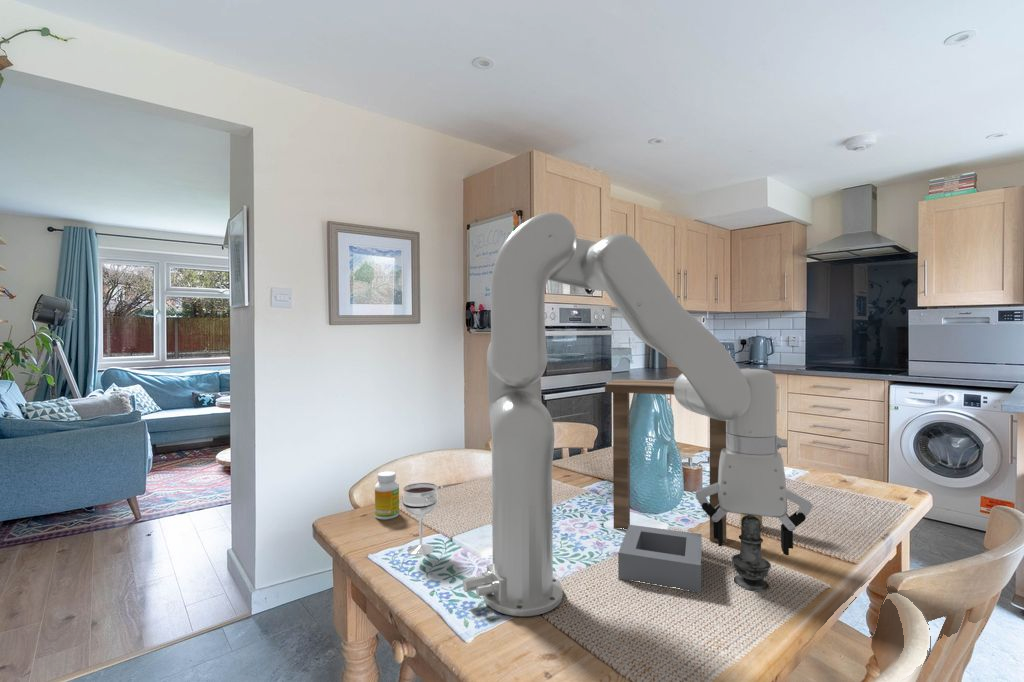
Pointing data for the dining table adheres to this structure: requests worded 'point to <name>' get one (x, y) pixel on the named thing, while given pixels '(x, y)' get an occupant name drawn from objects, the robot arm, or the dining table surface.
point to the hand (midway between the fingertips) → (751, 547)
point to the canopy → (622, 445)
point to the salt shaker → (751, 557)
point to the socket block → (661, 557)
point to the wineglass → (420, 509)
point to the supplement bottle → (386, 496)
